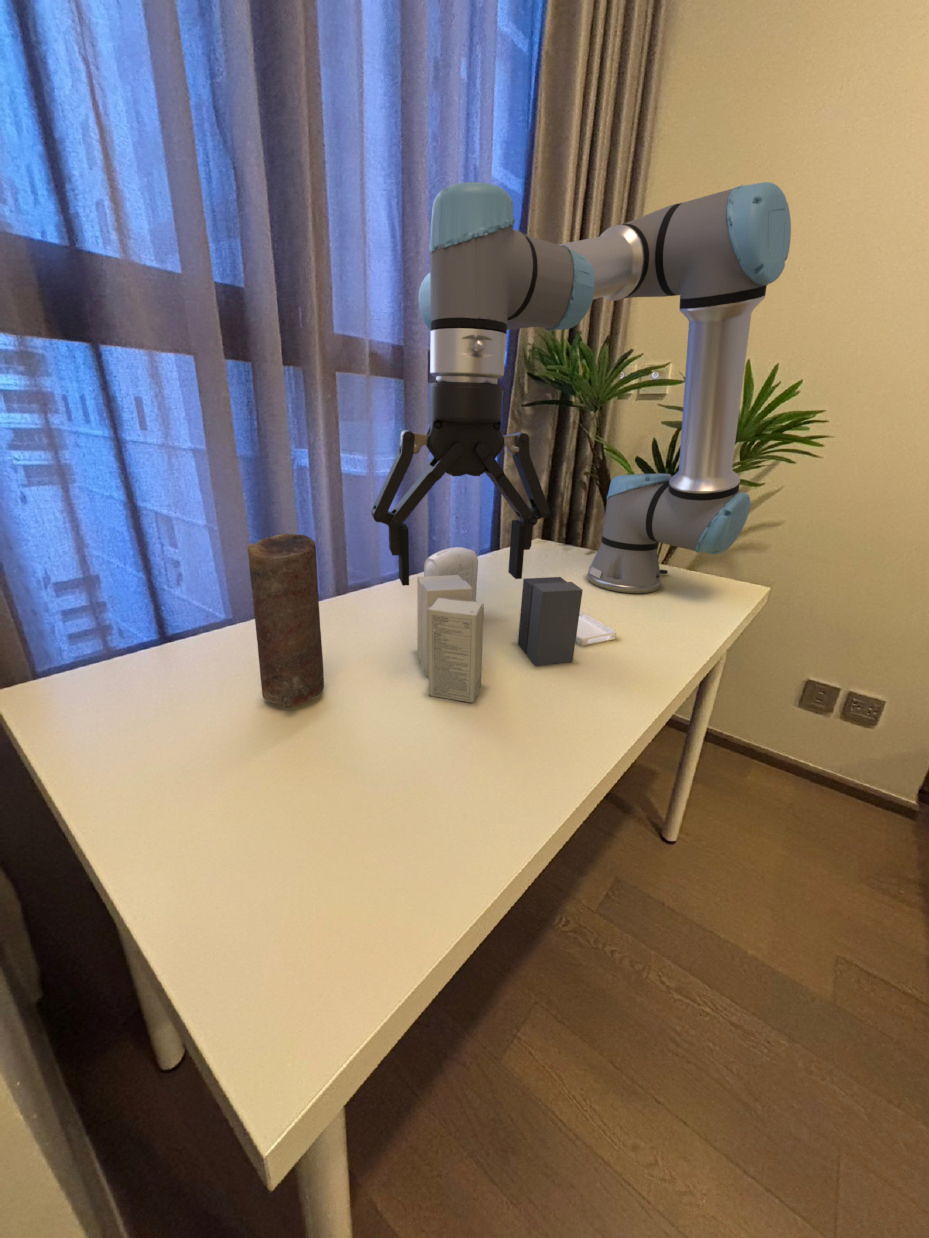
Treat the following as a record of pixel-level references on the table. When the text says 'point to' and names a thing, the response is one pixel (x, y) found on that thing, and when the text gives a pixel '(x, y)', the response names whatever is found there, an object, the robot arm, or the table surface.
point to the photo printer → (454, 565)
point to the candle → (287, 618)
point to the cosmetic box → (455, 648)
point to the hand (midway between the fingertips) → (461, 578)
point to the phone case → (592, 631)
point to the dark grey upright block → (549, 620)
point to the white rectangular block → (427, 595)
